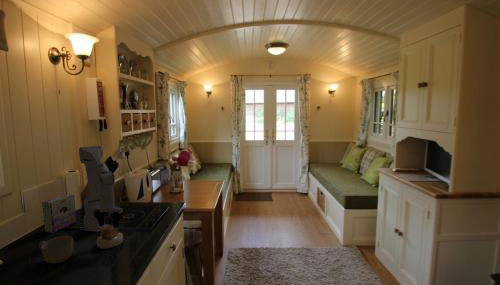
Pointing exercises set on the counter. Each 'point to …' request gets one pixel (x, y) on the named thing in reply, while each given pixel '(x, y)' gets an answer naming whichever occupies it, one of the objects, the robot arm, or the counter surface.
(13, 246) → the counter surface
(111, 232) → the oak cube
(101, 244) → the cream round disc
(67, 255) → the teacup
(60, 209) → the candy box
